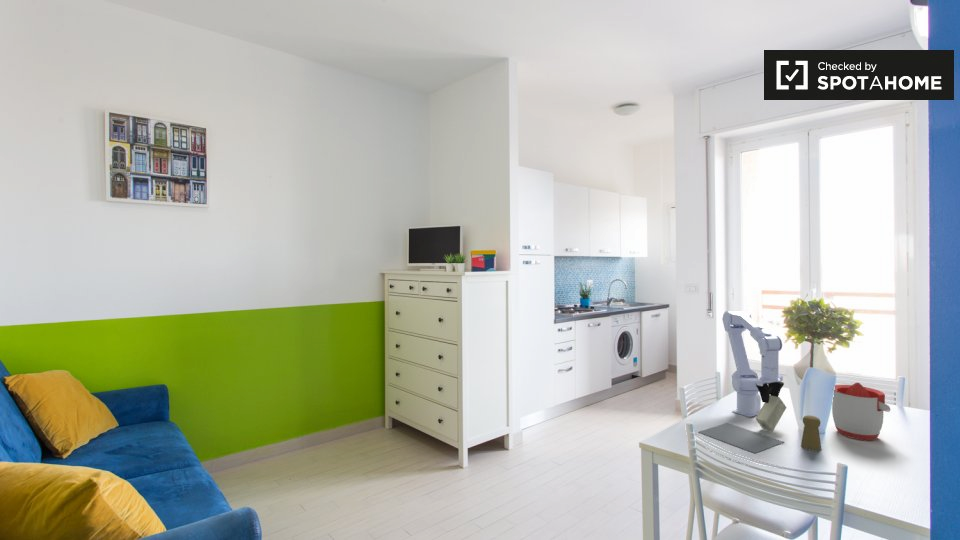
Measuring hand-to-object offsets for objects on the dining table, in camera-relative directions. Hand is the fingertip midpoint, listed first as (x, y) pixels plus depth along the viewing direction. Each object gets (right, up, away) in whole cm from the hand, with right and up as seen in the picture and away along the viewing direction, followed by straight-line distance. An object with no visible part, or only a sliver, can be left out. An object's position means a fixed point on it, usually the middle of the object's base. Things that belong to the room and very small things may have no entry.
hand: (769, 401), depth 186 cm
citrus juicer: (+28, -11, -9) cm, 32 cm away
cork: (+4, -12, -18) cm, 22 cm away
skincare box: (-5, -8, -4) cm, 10 cm away
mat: (-17, -11, -9) cm, 22 cm away
